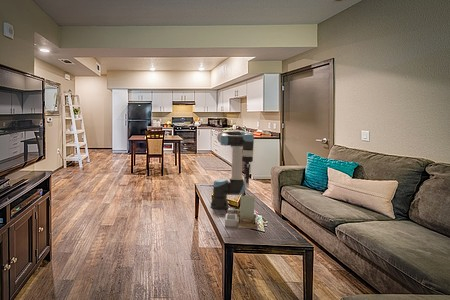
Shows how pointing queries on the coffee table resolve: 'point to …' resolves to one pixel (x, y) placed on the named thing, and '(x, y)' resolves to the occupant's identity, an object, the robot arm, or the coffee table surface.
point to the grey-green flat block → (247, 207)
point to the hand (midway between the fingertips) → (246, 185)
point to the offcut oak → (247, 219)
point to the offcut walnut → (245, 222)
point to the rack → (246, 225)
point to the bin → (231, 220)
